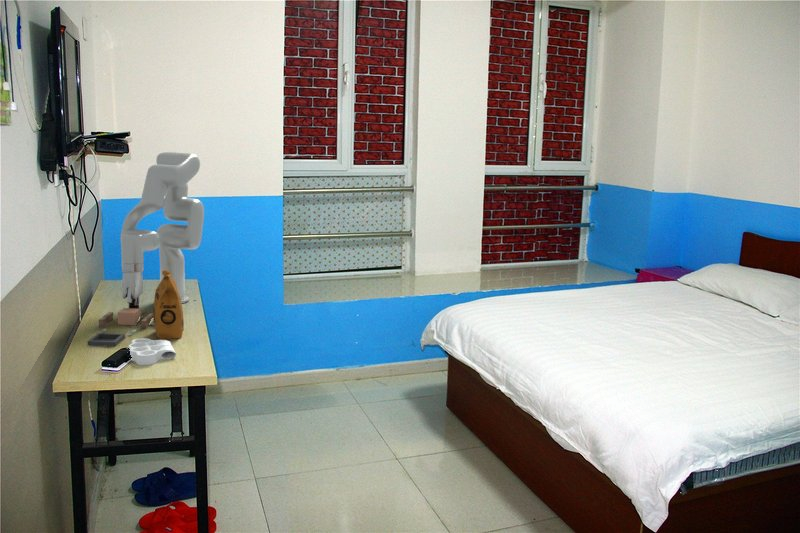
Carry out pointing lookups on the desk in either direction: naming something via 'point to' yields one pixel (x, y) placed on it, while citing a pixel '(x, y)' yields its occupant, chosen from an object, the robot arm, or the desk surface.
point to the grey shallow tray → (106, 339)
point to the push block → (129, 316)
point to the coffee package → (168, 309)
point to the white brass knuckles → (150, 351)
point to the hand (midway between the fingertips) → (134, 315)
